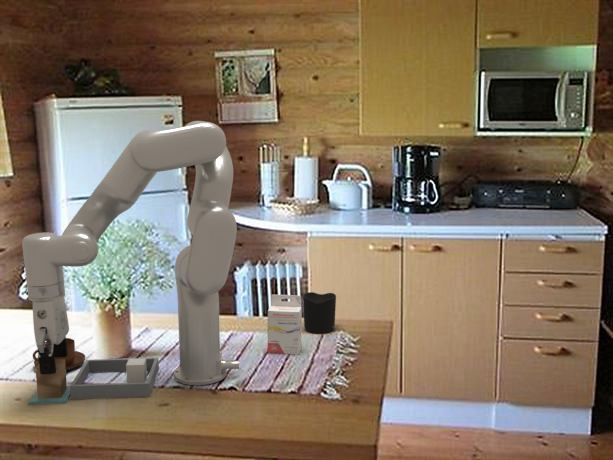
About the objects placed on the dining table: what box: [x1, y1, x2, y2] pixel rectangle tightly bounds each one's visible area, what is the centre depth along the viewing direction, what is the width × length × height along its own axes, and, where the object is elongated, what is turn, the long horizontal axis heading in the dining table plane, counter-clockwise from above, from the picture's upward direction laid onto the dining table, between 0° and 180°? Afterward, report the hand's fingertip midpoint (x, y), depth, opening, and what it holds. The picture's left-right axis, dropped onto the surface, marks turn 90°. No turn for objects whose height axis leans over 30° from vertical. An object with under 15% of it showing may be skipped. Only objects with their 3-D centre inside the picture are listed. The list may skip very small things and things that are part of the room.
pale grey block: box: [125, 359, 148, 383], centre depth 161 cm, size 4×4×5 cm
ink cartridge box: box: [267, 294, 303, 355], centre depth 180 cm, size 9×5×15 cm, turn 84°
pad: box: [28, 385, 71, 405], centre depth 153 cm, size 8×8×1 cm
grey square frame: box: [69, 357, 160, 400], centre depth 160 cm, size 17×16×3 cm
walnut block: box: [35, 359, 68, 399], centre depth 153 cm, size 5×5×7 cm
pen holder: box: [302, 291, 337, 335], centre depth 198 cm, size 9×9×10 cm
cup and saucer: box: [32, 337, 86, 371], centre depth 171 cm, size 12×12×6 cm
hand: (54, 364), depth 152 cm, fingers open, 9 cm apart
